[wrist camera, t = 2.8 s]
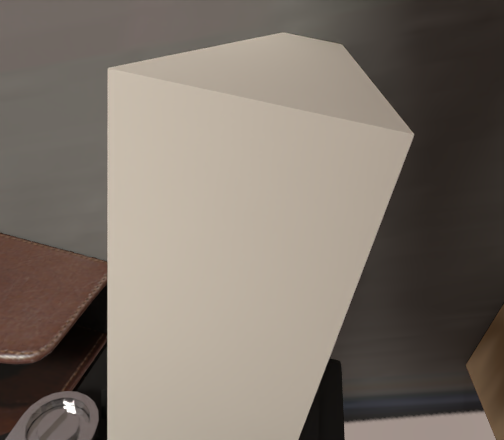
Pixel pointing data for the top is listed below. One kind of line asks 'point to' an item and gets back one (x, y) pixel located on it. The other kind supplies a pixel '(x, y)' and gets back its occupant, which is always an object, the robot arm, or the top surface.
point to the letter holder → (47, 322)
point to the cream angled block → (238, 231)
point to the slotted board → (490, 374)
